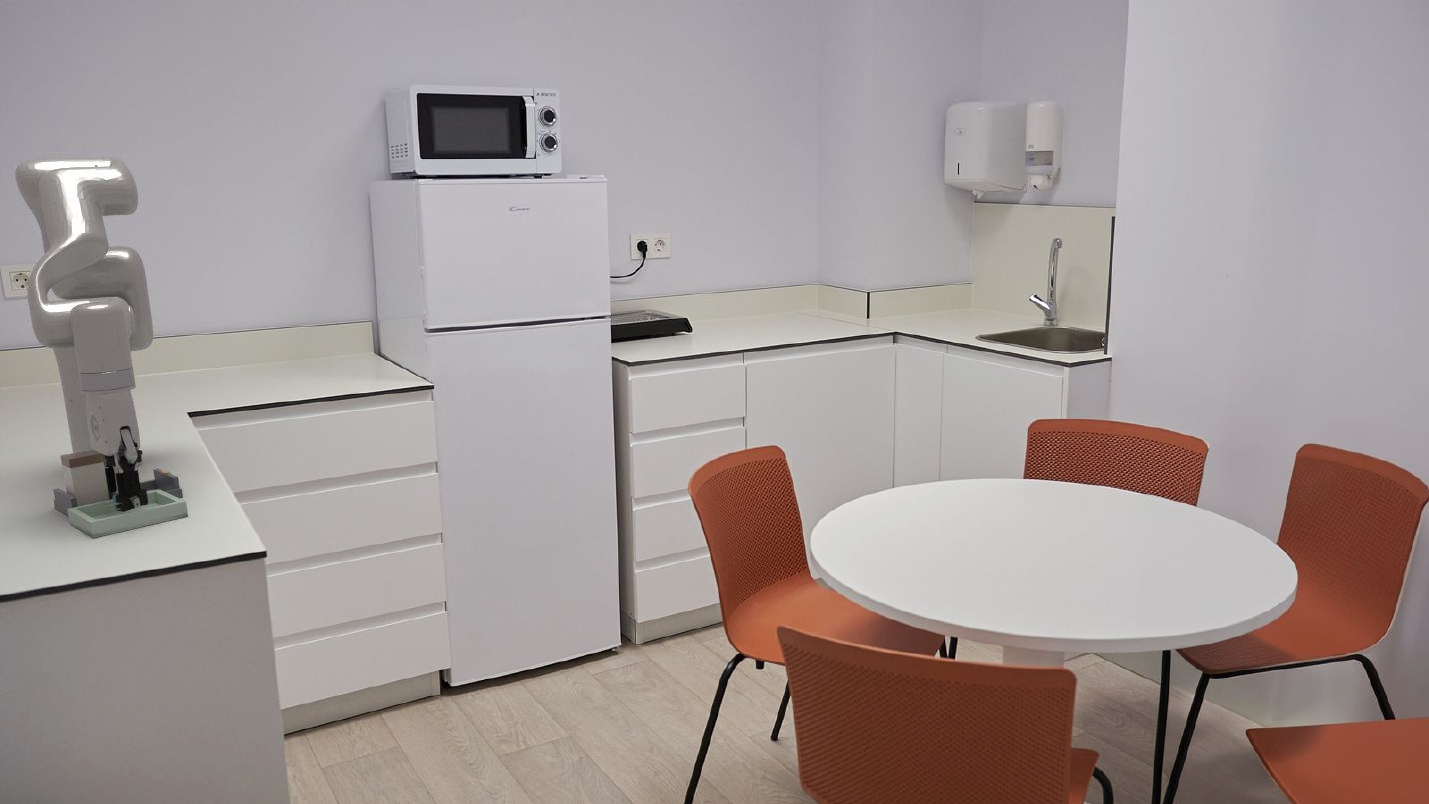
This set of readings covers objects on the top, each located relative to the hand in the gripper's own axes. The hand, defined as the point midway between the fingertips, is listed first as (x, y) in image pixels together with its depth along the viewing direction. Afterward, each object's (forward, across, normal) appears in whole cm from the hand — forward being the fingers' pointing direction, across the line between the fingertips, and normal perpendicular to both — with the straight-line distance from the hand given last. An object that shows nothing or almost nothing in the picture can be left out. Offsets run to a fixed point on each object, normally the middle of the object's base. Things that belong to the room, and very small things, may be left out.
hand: (124, 492), depth 176 cm
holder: (+5, -13, +2) cm, 14 cm away
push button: (+3, 0, 0) cm, 3 cm away
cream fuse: (+5, -13, -2) cm, 14 cm away
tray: (+5, 0, 0) cm, 5 cm away
